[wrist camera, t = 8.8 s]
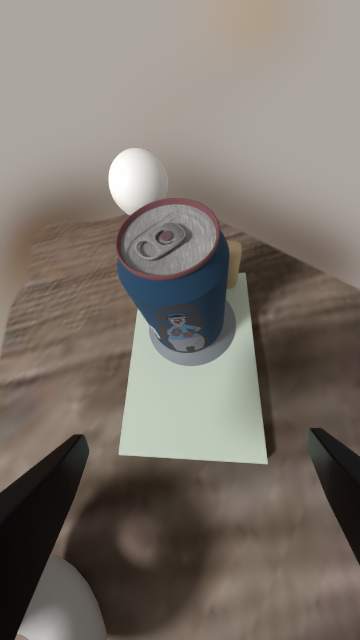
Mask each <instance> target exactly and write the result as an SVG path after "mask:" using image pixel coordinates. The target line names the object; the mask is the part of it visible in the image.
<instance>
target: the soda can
mask: <svg viewBox="0 0 360 640" xmlns="http://www.w3.org/2000/svg"><path fill="white" fill-rule="evenodd" d="M116 252H117V255H118V263H117V269H118V275H119V278H120V281H121V283H122V285H123V286H124V288H125V289H126V291H127V292H128V294H129V295H130V297H131V298H132V300H133V302H134V303H135V305H136V306H137V308H138V309H139V311H140V312H141V314H142V315H143V317H144V318H145V320H146V321H147V323H148V324H149V326H150V328H151V329H152V331H153V332H154V334H155V335H156V337H157V338H158V340H159V341H160V342H161V343H162V344H163V345H164V346H165V347H167V348H169V349H170V350H173V351H176V352H180V353H193V352H198V351H201V350H203V349H205V348H207V347H208V346H210V345H211V344H212V343H213V342H214V341H215V340H216V339H217V338H218V336H219V335H220V333H221V330H222V328H223V323H224V312H225V301H226V290H227V279H228V268H229V256H230V254H229V247H228V243H227V241H226V239H225V237H224V235H223V233H222V232H221V230H220V226H219V222H218V220H217V218H216V216H215V215H214V213H213V212H212V211H211V210H210V209H209V208H207V207H206V206H205V205H203V204H201V203H199V202H196V201H193V200H189V199H183V198H169V199H162V200H157V201H154V202H151V203H149V204H146V205H145V206H143V207H141V208H139V209H138V210H136V211H135V212H134V213H132V214H131V215H130V216H129V217H128V218H127V219H126V220H125V221H124V223H123V224H122V226H121V227H120V229H119V231H118V234H117V237H116Z"/></svg>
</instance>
